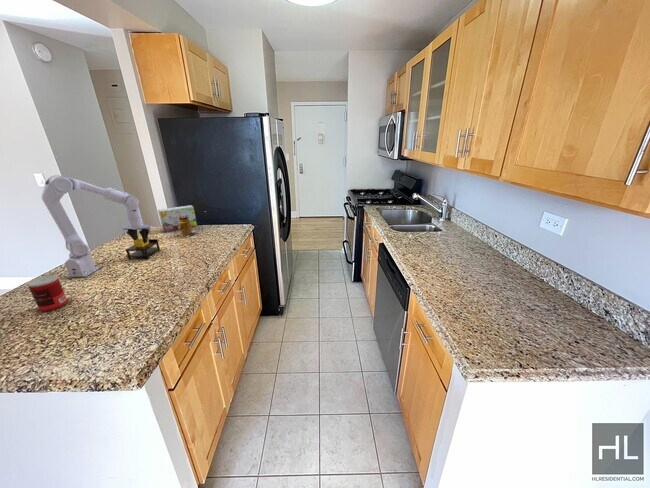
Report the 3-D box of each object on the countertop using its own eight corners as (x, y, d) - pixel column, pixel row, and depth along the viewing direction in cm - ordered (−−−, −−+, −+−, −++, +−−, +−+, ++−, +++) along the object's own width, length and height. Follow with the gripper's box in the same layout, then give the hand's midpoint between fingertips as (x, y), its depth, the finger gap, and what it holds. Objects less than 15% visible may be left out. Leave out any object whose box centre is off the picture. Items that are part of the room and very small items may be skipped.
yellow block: (142, 247, 137) (141, 241, 135) (135, 247, 136) (133, 241, 135) (149, 243, 142) (147, 237, 141) (141, 243, 142) (140, 237, 141)
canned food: (66, 297, 102) (55, 272, 98) (69, 304, 98) (58, 279, 94) (38, 306, 97) (25, 280, 93) (41, 314, 92) (28, 287, 88)
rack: (148, 259, 136) (144, 247, 133) (128, 259, 135) (124, 247, 133) (160, 250, 147) (157, 239, 145) (142, 250, 147) (139, 239, 144)
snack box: (164, 232, 175) (159, 211, 170) (162, 230, 179) (157, 209, 174) (197, 226, 189) (193, 206, 183) (194, 224, 192) (191, 204, 187)
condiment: (179, 235, 170) (175, 218, 165) (189, 231, 177) (185, 214, 173) (187, 237, 168) (183, 219, 163) (197, 232, 175) (194, 215, 170)
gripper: (153, 215, 138) (159, 239, 143) (125, 216, 137) (132, 240, 142) (145, 219, 131) (152, 244, 136) (116, 219, 130) (123, 244, 135)
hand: (141, 242), depth 139 cm, fingers closed on yellow block, 4 cm apart
